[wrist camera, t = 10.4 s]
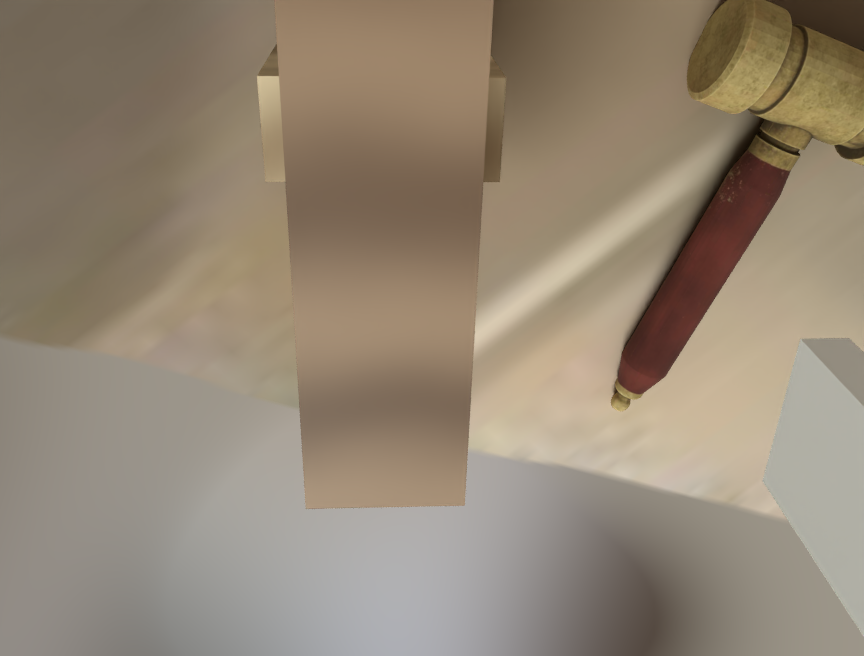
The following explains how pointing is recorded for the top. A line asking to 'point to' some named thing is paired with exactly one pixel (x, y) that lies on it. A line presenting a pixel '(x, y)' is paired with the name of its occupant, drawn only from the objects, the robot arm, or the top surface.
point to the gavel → (747, 160)
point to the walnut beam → (384, 239)
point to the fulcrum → (273, 121)
